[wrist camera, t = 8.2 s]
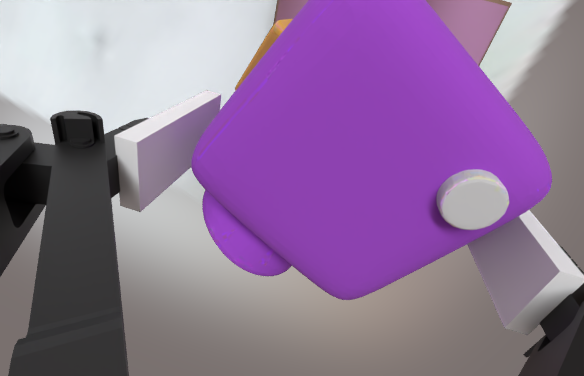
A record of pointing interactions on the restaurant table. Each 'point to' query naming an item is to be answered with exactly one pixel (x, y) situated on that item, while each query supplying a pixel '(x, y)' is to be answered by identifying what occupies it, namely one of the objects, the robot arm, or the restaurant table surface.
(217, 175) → the toy camera
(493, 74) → the restaurant table surface
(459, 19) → the walnut step
